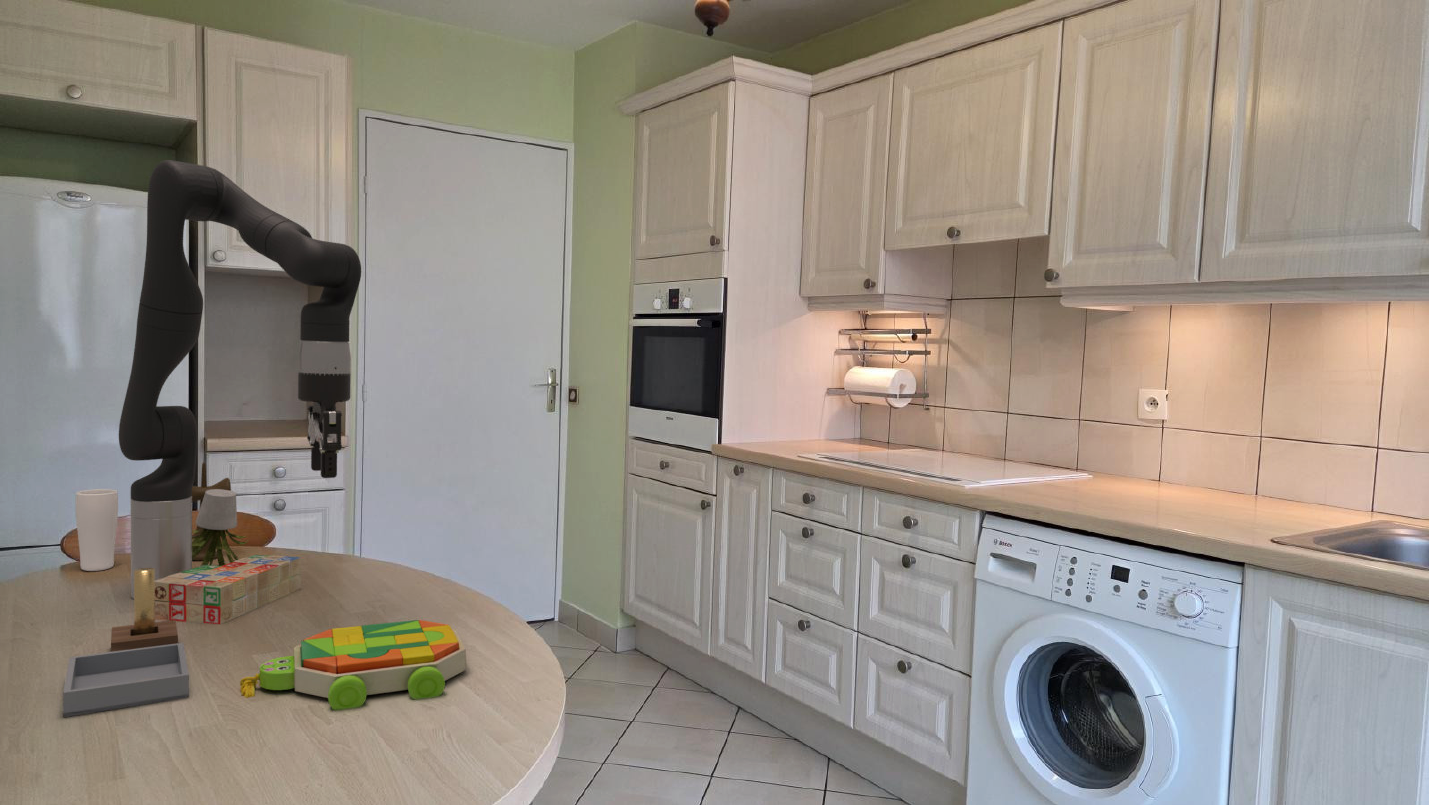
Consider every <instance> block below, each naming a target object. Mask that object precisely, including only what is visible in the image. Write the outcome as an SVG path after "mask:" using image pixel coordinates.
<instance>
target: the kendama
mask: <svg viewBox="0 0 1429 805" xmlns="http://www.w3.org/2000/svg"><path fill="white" fill-rule="evenodd" d="M200 475H201V478H200V479H201V480H200V486H196V485H193V487H192V503H194V502H198V501H199V510H200V507H201V504H202V501H203V498H204V495H205V492H206V491H207V490H212V489H223V490H229V491H232V486H231V485H232V484H231V480H230V478H229V477H225V478H223V479H221V480H220V481H218V482H217V483H215V484H213V485H209V486H208V485H207V483H208V482H207V465H206V462H204V461H203V462H202V464H201V474H200ZM202 529H203V528H202V527H199V526H197V525H196V528H195V531H199V530H201V531H202ZM201 531H199V532H197V533H193V534H192V538H193V537H196V536H199V535H200V534H201ZM212 537H213V536H212ZM212 537H211V539H210V540H209V541H208V542H207V544H206V545H205V546H204V547H203V548H202V550H201V551H200V552H199V553H198V554H197V555H196V556H195V557H194V558H193V559H192V561H196V562H197V561H199V562H201V561H202V562H203V560H204V557H205V555H206V553H207V550H208V548H209V545H210V543H211V540H212ZM193 541H194V540H192V542H193ZM217 558H218V555H217V551H216V552H215V556H214V559H217Z"/></svg>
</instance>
